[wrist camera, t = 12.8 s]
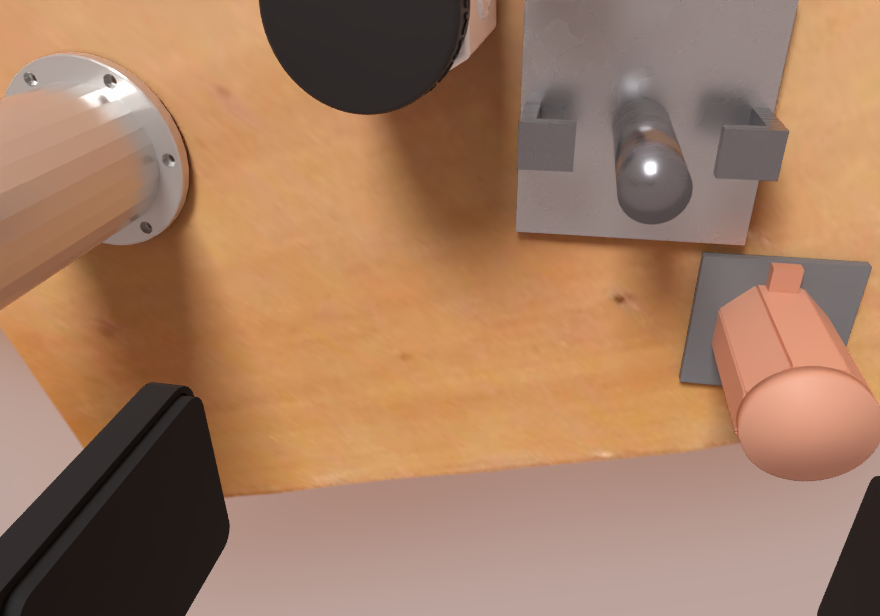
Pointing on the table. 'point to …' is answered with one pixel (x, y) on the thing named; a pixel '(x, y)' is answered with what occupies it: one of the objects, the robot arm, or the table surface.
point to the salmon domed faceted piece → (792, 382)
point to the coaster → (737, 273)
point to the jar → (373, 46)
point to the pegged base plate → (649, 116)
